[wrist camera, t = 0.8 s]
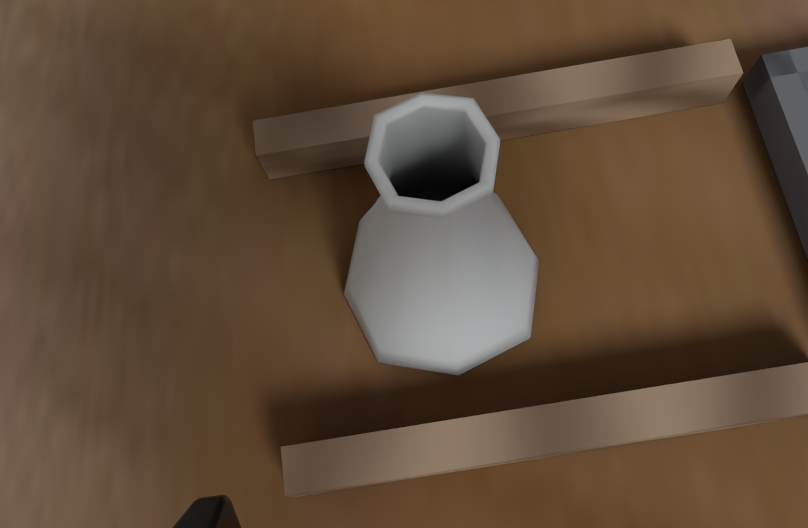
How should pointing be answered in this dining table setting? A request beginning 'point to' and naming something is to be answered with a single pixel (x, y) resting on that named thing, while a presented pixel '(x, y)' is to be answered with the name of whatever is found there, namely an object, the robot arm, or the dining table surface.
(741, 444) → the dining table surface
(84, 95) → the dining table surface
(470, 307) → the flask
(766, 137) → the tray
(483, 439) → the guide channel
